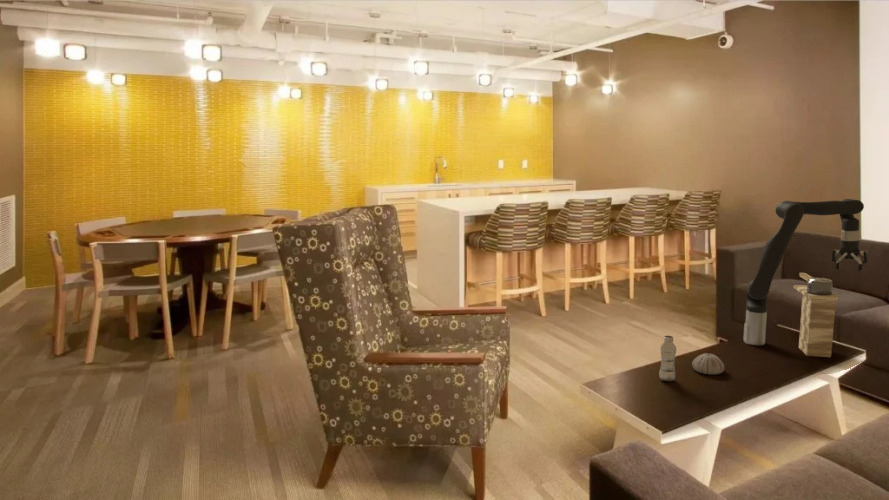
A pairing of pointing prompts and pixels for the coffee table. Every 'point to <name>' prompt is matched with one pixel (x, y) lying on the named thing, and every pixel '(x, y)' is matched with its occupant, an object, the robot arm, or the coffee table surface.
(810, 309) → the stand
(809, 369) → the coffee table surface
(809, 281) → the saucepan
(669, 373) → the plastic bottle
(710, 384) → the coffee table surface
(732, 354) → the coffee table surface
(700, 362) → the sea urchin shell
